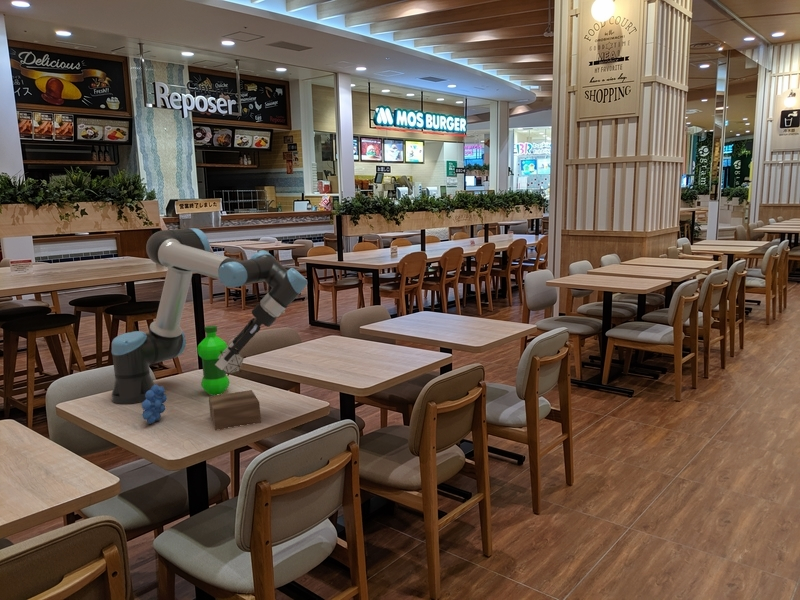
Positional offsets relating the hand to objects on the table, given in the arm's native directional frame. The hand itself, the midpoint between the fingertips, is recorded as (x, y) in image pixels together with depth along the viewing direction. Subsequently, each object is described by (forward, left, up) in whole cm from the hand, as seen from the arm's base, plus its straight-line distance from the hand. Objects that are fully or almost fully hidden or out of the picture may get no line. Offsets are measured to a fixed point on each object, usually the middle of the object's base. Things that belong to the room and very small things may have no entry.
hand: (220, 363), depth 194 cm
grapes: (-5, -23, -19) cm, 30 cm away
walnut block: (0, +3, -19) cm, 19 cm away
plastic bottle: (-30, -6, -19) cm, 36 cm away
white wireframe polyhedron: (0, +3, -4) cm, 5 cm away
